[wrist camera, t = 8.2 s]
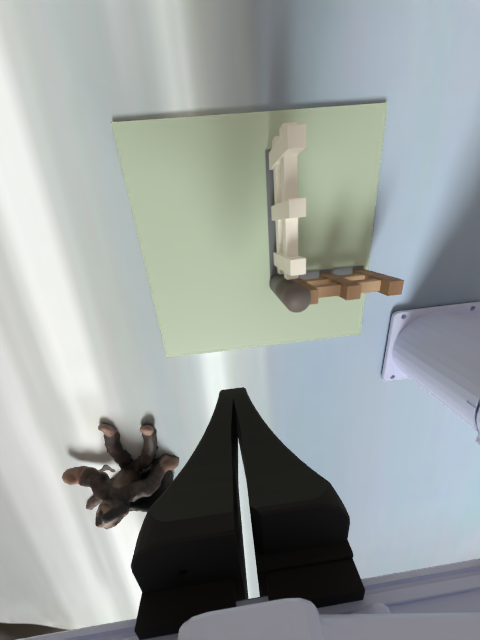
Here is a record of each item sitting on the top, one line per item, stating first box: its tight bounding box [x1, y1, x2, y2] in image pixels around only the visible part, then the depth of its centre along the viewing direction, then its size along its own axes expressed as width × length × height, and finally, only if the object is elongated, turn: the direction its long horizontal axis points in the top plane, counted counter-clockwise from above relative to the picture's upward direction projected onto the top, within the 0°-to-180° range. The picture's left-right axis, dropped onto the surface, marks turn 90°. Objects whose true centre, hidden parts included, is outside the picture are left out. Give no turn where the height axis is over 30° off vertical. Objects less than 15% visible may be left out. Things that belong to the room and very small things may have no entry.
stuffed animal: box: [62, 424, 179, 529], centre depth 27 cm, size 12×10×12 cm
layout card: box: [111, 103, 388, 358], centre depth 19 cm, size 19×18×1 cm
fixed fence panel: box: [269, 269, 404, 313], centre depth 18 cm, size 8×2×5 cm, turn 95°
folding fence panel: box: [269, 122, 306, 280], centre depth 16 cm, size 9×1×5 cm, turn 6°
